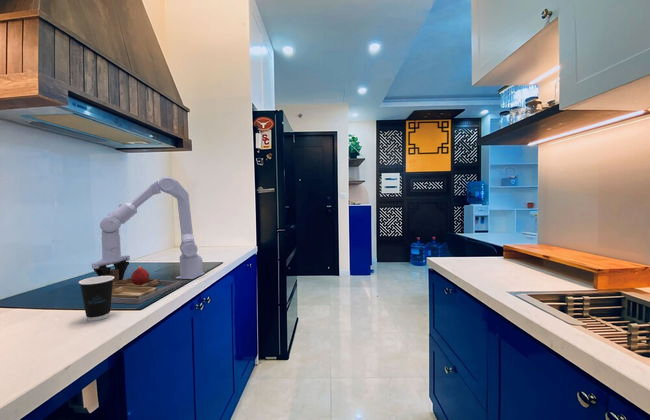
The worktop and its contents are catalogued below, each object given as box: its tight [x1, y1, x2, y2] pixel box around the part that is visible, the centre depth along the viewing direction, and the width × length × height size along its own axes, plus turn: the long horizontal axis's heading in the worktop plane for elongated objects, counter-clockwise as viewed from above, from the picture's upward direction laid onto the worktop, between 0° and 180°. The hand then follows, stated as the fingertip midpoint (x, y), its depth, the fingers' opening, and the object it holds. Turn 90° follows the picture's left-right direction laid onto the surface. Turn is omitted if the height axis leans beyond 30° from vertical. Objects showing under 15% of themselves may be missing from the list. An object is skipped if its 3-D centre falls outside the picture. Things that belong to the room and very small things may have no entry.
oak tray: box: [112, 286, 158, 298], centre depth 98 cm, size 9×18×6 cm, turn 81°
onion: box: [130, 265, 150, 285], centre depth 108 cm, size 6×6×8 cm
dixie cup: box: [78, 275, 114, 322], centre depth 81 cm, size 8×8×11 cm
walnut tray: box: [109, 268, 160, 290], centre depth 109 cm, size 9×18×6 cm, turn 81°
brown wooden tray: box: [111, 279, 182, 305], centre depth 103 cm, size 21×15×2 cm
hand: (112, 282), depth 110 cm, fingers open, 6 cm apart
